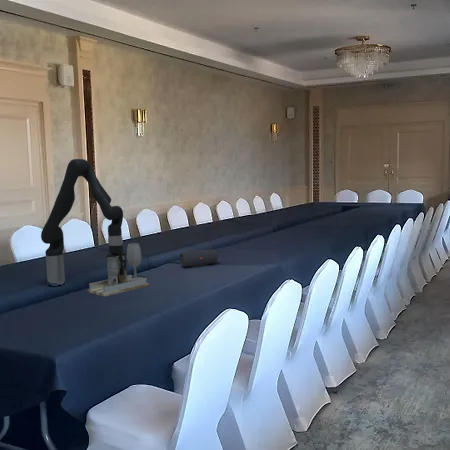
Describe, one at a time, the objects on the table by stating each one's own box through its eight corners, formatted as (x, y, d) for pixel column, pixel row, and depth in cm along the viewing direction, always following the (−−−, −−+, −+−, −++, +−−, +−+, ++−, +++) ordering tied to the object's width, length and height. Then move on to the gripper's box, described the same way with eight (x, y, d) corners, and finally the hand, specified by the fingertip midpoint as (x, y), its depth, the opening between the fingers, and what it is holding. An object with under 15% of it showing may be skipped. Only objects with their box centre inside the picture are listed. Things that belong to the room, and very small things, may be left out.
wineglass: (143, 281, 312) (141, 244, 310) (127, 282, 311) (125, 245, 308) (143, 278, 321) (141, 242, 318) (128, 279, 319) (125, 243, 317)
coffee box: (117, 281, 301) (116, 252, 299) (127, 282, 299) (126, 252, 297) (107, 285, 293) (106, 255, 291) (118, 286, 290) (116, 255, 288)
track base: (87, 292, 292) (87, 283, 292) (131, 282, 312) (131, 274, 311) (104, 296, 281) (103, 288, 280) (148, 286, 300) (148, 277, 300)
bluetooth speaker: (184, 269, 341) (183, 253, 340) (179, 266, 350) (178, 251, 349) (218, 265, 350) (217, 249, 349) (212, 262, 359) (212, 247, 358)
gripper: (102, 243, 296) (104, 273, 298) (117, 246, 286) (119, 277, 288) (114, 241, 301) (116, 271, 303) (129, 244, 291) (131, 274, 293)
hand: (117, 274), depth 295 cm, fingers closed on coffee box, 8 cm apart
